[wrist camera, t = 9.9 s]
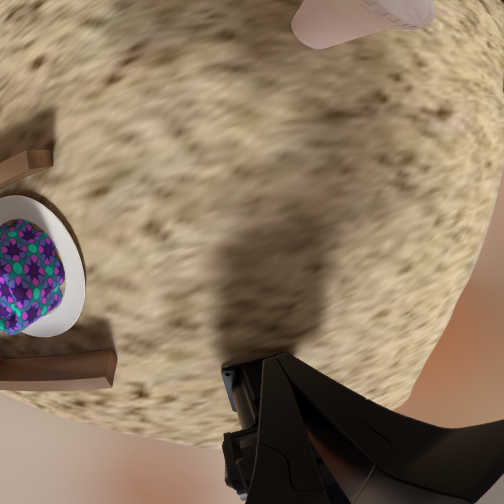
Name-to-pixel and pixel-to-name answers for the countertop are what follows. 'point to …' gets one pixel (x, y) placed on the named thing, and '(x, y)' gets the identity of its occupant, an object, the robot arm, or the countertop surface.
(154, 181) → the countertop surface
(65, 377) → the bay
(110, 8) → the countertop surface
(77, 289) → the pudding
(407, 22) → the smoothie
